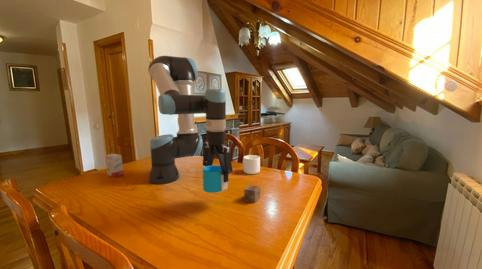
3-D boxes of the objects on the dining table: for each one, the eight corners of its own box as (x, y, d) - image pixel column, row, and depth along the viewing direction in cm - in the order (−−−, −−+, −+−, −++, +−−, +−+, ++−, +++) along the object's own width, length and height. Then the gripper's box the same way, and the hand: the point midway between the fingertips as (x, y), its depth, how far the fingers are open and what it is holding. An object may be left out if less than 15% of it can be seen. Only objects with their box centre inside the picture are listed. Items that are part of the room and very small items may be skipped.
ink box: (123, 175, 118) (121, 154, 116) (114, 177, 114) (112, 156, 112) (116, 172, 123) (114, 153, 121) (107, 174, 119) (104, 154, 117)
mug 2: (250, 167, 130) (250, 153, 129) (265, 170, 124) (265, 155, 123) (239, 172, 120) (239, 157, 119) (254, 176, 114) (254, 160, 113)
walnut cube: (244, 200, 86) (244, 189, 85) (249, 195, 91) (249, 184, 90) (255, 203, 84) (255, 191, 83) (260, 198, 88) (260, 186, 87)
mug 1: (214, 194, 77) (213, 173, 75) (198, 189, 81) (198, 169, 80) (233, 184, 86) (233, 165, 85) (218, 179, 91) (218, 161, 89)
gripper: (192, 128, 84) (194, 181, 88) (227, 134, 70) (228, 197, 74) (207, 126, 89) (208, 177, 93) (242, 131, 75) (242, 190, 79)
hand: (217, 186), depth 83 cm, fingers closed on mug 1, 8 cm apart
